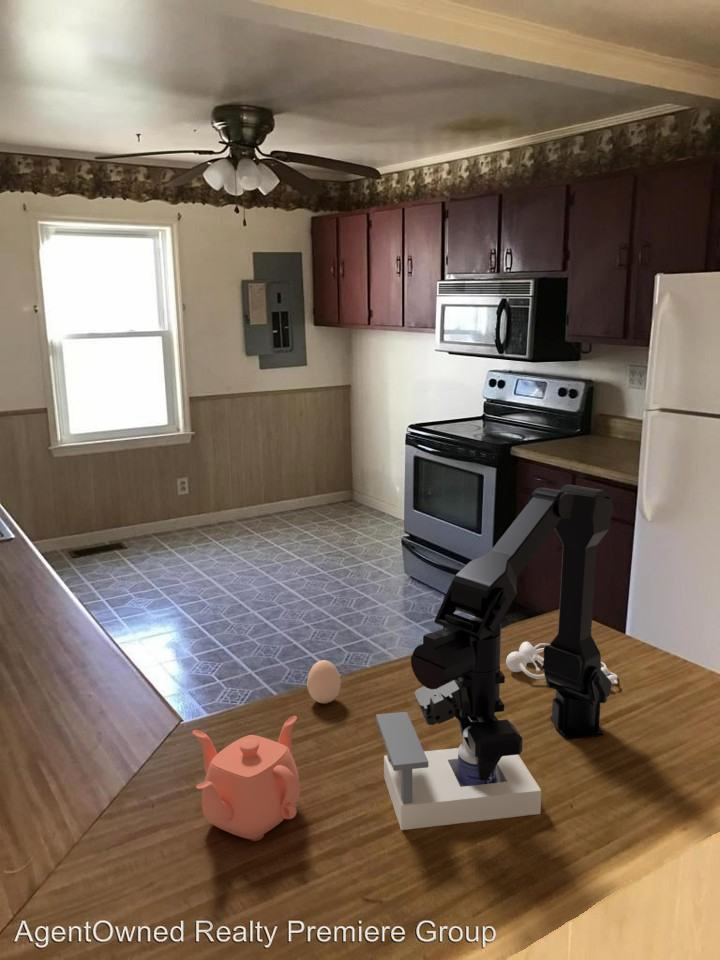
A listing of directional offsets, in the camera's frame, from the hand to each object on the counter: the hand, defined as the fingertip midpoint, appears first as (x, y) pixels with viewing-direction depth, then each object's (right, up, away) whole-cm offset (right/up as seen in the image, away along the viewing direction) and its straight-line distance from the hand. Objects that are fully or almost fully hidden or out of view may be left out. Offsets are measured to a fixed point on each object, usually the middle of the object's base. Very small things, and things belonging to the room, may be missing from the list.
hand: (477, 767), depth 109 cm
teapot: (-32, -5, -3) cm, 32 cm away
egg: (-22, +1, +27) cm, 35 cm away
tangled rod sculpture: (+21, +4, +37) cm, 43 cm away
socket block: (-3, -4, 0) cm, 5 cm away
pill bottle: (0, -4, +1) cm, 4 cm away
